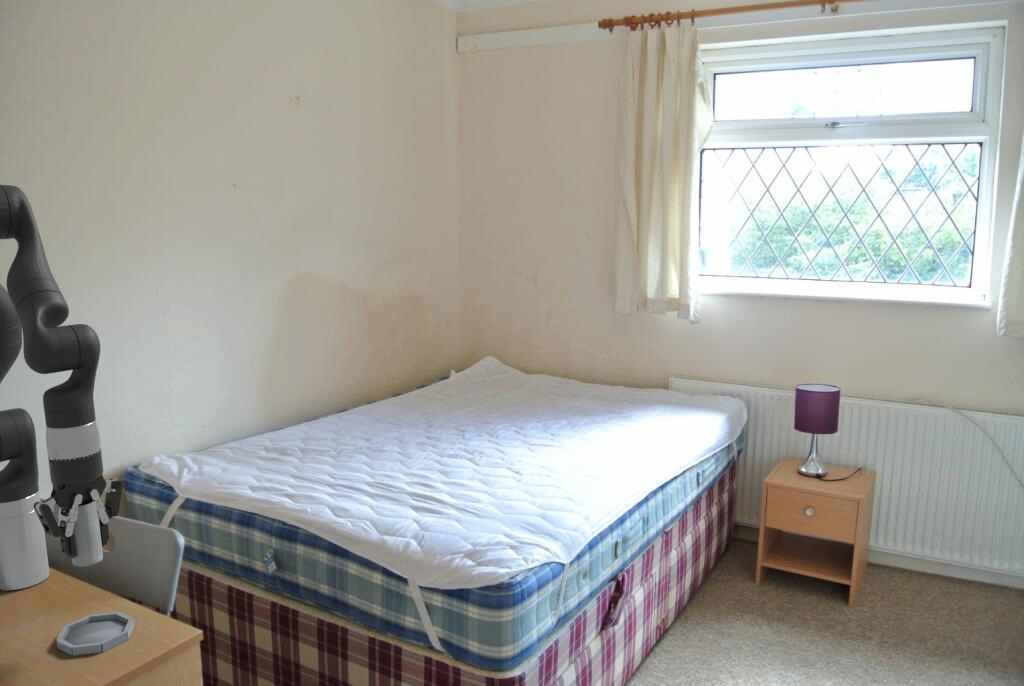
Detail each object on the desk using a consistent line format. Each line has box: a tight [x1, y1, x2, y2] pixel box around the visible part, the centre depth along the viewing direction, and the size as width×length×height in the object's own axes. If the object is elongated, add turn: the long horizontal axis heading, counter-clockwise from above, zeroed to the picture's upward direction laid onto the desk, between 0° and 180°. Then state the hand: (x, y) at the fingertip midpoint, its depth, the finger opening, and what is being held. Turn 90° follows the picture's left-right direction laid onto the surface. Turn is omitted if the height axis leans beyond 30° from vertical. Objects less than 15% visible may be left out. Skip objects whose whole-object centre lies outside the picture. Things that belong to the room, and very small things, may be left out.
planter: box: [66, 500, 104, 567], centre depth 135 cm, size 4×4×10 cm
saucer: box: [55, 611, 135, 657], centre depth 138 cm, size 11×11×1 cm
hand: (86, 550), depth 135 cm, fingers closed on planter, 4 cm apart
